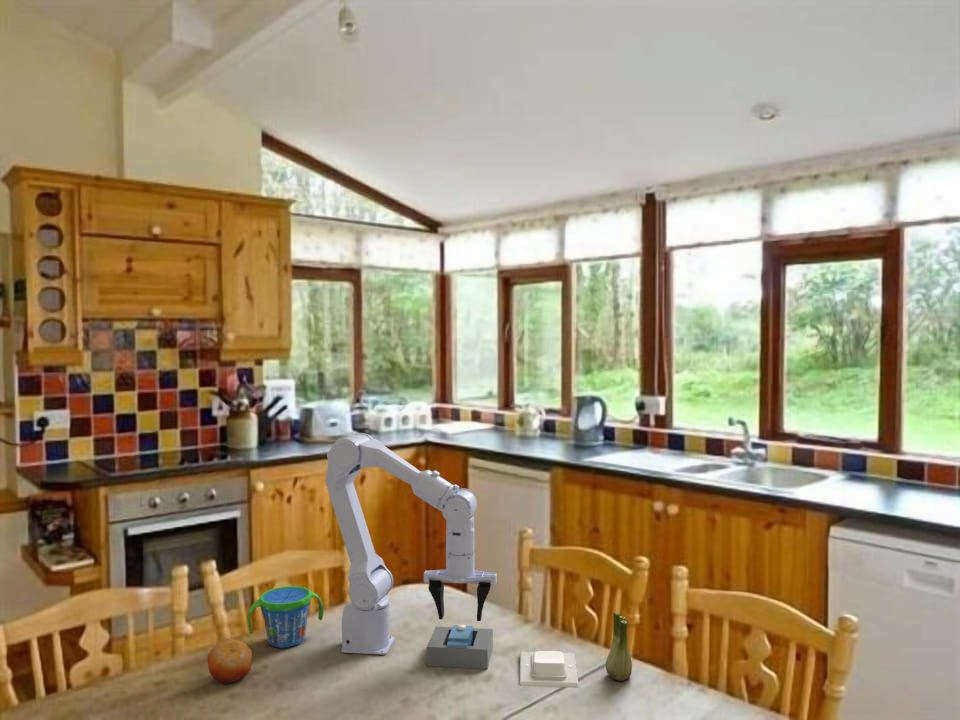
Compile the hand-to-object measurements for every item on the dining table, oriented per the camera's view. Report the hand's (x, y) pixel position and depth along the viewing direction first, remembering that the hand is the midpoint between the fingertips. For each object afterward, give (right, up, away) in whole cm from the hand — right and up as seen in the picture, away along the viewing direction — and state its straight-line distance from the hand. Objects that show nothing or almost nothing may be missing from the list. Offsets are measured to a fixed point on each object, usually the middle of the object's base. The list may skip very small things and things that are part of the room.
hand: (460, 618), depth 149 cm
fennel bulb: (+30, -8, -9) cm, 33 cm away
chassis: (0, -8, 0) cm, 8 cm away
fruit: (-43, -9, -9) cm, 45 cm away
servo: (0, -8, 0) cm, 8 cm away
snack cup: (-37, -8, +8) cm, 39 cm away
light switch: (+17, -9, -6) cm, 20 cm away
